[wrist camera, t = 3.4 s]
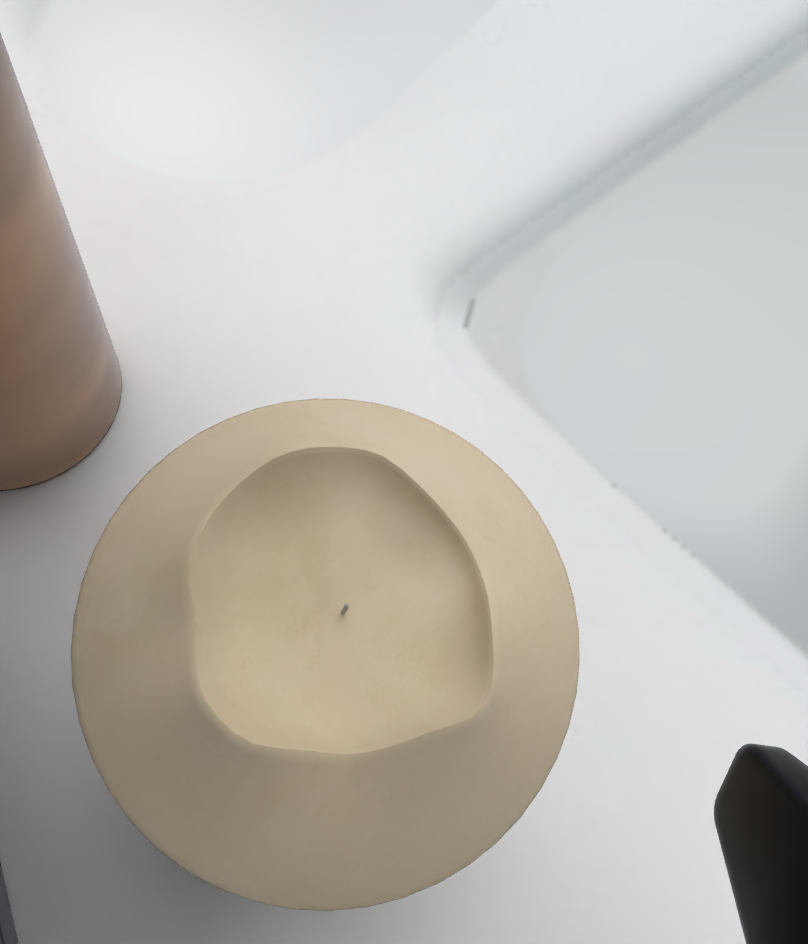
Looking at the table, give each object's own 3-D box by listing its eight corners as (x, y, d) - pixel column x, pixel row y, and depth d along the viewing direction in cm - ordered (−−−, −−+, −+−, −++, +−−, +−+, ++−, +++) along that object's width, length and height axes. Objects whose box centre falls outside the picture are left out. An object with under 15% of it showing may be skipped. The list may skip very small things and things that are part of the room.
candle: (485, 702, 17) (744, 605, 8) (297, 911, 15) (340, 1122, 6) (313, 524, 18) (359, 244, 8) (113, 697, 16) (-111, 576, 6)
